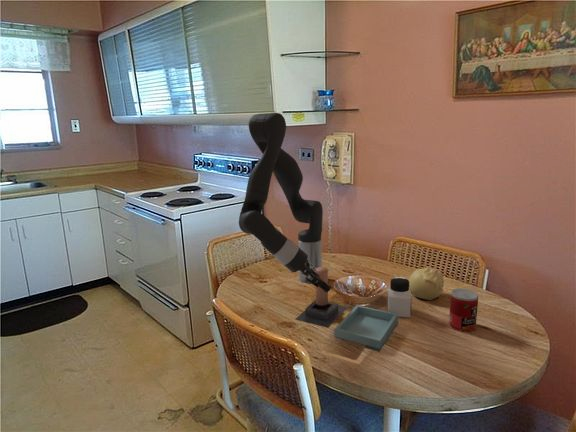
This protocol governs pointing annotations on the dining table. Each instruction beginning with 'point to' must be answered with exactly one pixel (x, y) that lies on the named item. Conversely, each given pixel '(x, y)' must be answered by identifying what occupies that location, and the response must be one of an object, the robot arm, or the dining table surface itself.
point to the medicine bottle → (399, 297)
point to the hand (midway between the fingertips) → (327, 287)
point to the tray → (367, 327)
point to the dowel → (320, 293)
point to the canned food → (463, 309)
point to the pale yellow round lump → (426, 283)
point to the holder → (321, 314)
